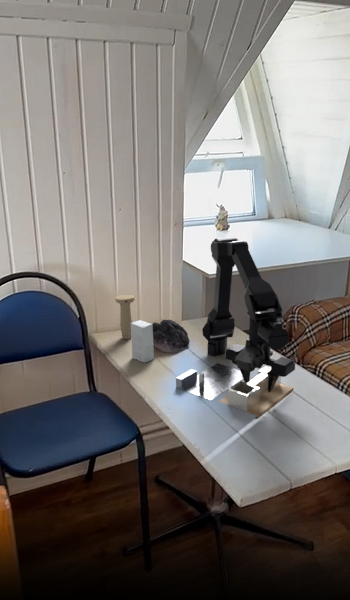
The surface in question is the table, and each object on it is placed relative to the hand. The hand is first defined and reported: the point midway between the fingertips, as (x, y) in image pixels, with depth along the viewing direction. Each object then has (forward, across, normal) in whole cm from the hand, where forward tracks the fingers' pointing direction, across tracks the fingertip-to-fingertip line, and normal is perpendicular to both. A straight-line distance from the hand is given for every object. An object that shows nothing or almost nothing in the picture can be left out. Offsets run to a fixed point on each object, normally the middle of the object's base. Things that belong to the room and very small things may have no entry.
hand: (258, 387), depth 150 cm
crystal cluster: (+3, -42, +13) cm, 44 cm away
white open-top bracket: (+2, 0, -1) cm, 2 cm away
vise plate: (+3, -14, -1) cm, 14 cm away
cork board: (+3, 0, 0) cm, 3 cm away
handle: (+3, -58, +8) cm, 59 cm away
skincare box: (+3, -42, -1) cm, 42 cm away
